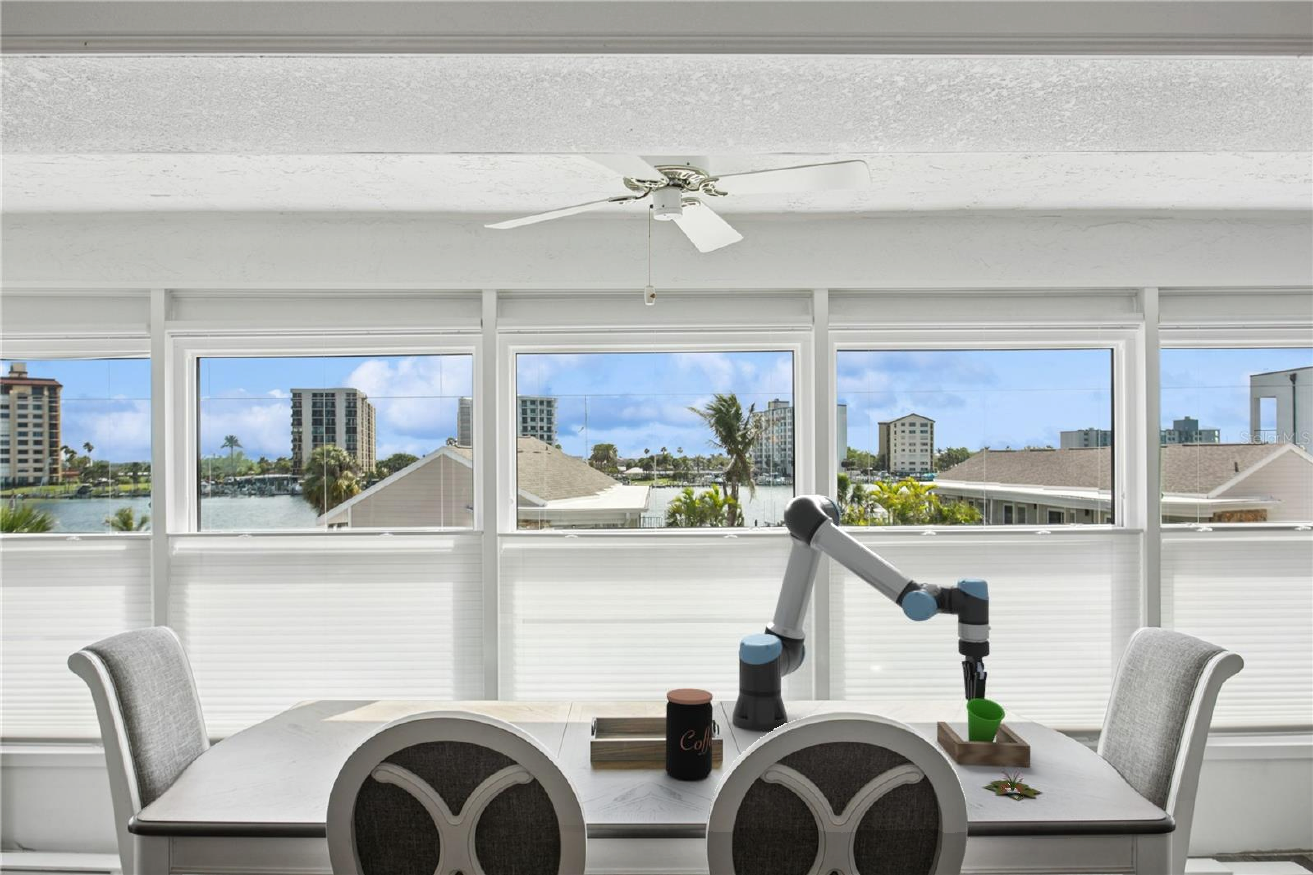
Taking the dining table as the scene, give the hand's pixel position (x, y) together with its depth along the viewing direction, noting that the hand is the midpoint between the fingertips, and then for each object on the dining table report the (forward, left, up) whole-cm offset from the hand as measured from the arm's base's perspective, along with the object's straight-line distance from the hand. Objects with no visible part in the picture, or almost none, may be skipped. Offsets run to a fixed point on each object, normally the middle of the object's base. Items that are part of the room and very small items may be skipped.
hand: (975, 731), depth 215 cm
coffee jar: (-73, -29, -4) cm, 79 cm away
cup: (0, -5, -3) cm, 5 cm away
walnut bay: (-1, -7, -4) cm, 8 cm away
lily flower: (-2, -32, -4) cm, 32 cm away
